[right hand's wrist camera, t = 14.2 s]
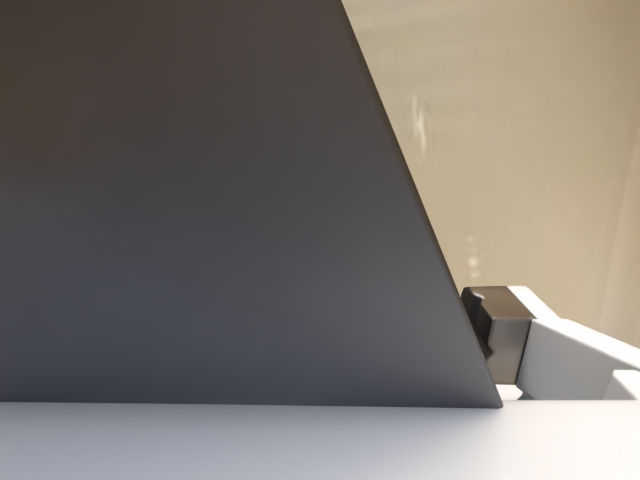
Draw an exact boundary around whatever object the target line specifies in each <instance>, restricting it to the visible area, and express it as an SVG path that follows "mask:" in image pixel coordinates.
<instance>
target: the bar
mask: <svg viewBox="0 0 640 480" xmlns="http://www.w3.org/2000/svg"><path fill="white" fill-rule="evenodd" d="M0 402H61V403H145V404H225V405H291V406H357V407H423V408H489V409H499V408H503V402H502V400H501V397H500V395H499V392H498V390H497V387H496V385H495V382H494V380H493V377H492V375H491V372H490V370H489V367H488V365H487V362H486V360H485V357H484V355H483V352H482V350H481V347H480V345H479V342H478V340H477V338H476V335H475V333H474V330H473V328H472V325H471V323H470V320H469V318H468V315H467V313H466V310H465V308H464V305H463V303H462V300H461V298H460V295H459V293H458V290H457V288H456V285H455V283H454V280H453V278H452V275H451V273H450V270H449V268H448V265H447V263H446V260H445V258H444V255H443V253H442V250H441V248H440V245H439V243H438V240H437V238H436V235H435V233H434V230H433V228H432V225H431V223H430V220H429V218H428V215H427V213H426V210H425V208H424V205H423V203H422V200H421V198H420V195H419V193H418V190H417V188H416V185H415V183H414V180H413V178H412V176H411V173H410V171H409V168H408V166H407V163H406V161H405V158H404V156H403V153H402V151H401V148H400V146H399V143H398V141H397V138H396V136H395V133H394V131H393V128H392V126H391V123H390V121H389V118H388V116H387V113H386V111H385V108H384V106H383V103H382V101H381V98H380V96H379V93H378V91H377V88H376V86H375V83H374V81H373V78H372V76H371V73H370V71H369V68H368V66H367V63H366V61H365V58H364V56H363V53H362V51H361V48H360V46H359V43H358V41H357V38H356V36H355V33H354V31H353V28H352V26H351V23H350V21H349V19H348V16H347V14H346V11H345V9H344V6H343V4H342V1H341V0H0Z"/></svg>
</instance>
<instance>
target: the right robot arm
mask: <svg viewBox="0 0 640 480" xmlns="http://www.w3.org/2000/svg"><path fill="white" fill-rule="evenodd" d="M461 300H462V303H463V305H464V308H465V310H466V313H467V315H468V318H469V320H470V323H471V325H472V328H473V330H474V333H475V335H476V338H477V340H478V342H479V345H480V347H481V350H482V352H483V355H484V357H485V360H486V362H487V365H488V367H489V370H490V372H491V375H492V377H493V380H494V382H495V385H496V387H497V390H498V392H499V395H500V397H501V400H502V402H503V408H499V409H489V408H423V407H357V406H291V405H225V404H145V403H61V402H0V480H640V349H639V348H637V347H634V346H632V345H629V344H627V343H624V342H622V341H620V340H617V339H615V338H612V337H610V336H607V335H605V334H603V333H600V332H598V331H595V330H593V329H590V328H588V327H585V326H583V325H581V324H578V323H576V322H573V321H571V320H568V319H561V318H559V317H558V316H557V315H556V314H555V313H554V312H553V311H552V310H551V309H550V308H549V307H548V306H547V305H546V304H545V303H544V302H543V301H542V300H541V299H539V298H538V297H537V296H536V295H535V294H534V293H533V292H532V291H531V290H530V289H529V288H528V287H526V286H485V287H465V288H464V289H463V291H462V294H461Z"/></svg>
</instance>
